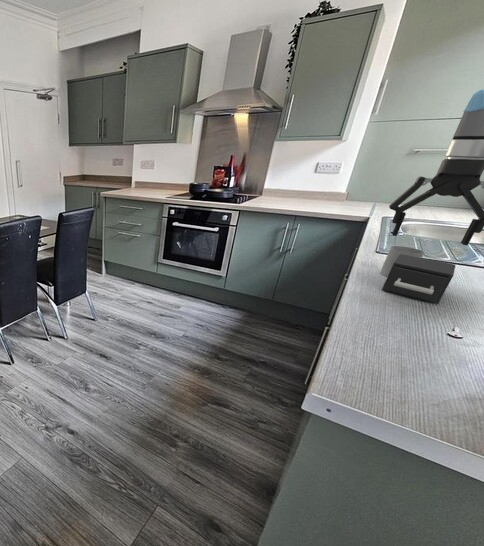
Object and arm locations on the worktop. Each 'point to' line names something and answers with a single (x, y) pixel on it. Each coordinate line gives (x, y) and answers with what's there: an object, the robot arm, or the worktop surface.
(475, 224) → the robot arm
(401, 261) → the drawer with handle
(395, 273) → the dark pull-out drawer
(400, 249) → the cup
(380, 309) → the worktop surface
